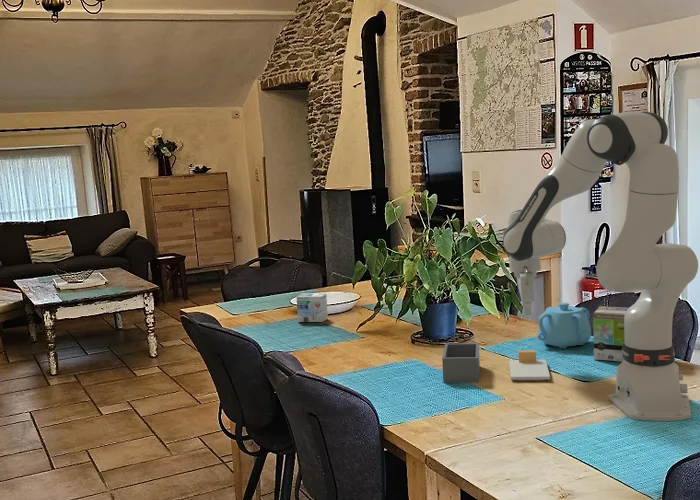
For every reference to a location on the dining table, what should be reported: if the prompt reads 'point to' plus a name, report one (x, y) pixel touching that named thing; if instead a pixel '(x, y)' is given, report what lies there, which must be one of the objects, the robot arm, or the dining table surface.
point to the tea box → (608, 333)
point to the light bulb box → (312, 307)
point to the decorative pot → (564, 326)
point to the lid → (528, 367)
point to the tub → (461, 363)
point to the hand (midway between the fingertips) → (527, 311)
